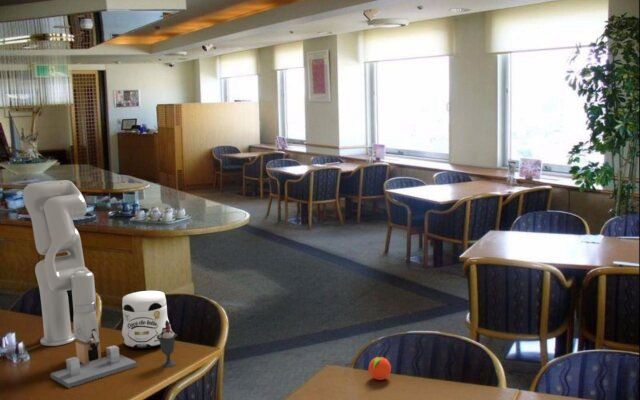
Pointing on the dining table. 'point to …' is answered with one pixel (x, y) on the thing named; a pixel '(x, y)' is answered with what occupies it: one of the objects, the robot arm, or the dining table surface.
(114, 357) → the post far
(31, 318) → the dining table surface
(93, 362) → the slate board
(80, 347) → the peach wooden block
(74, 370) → the post near
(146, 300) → the milk container
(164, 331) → the sundae
